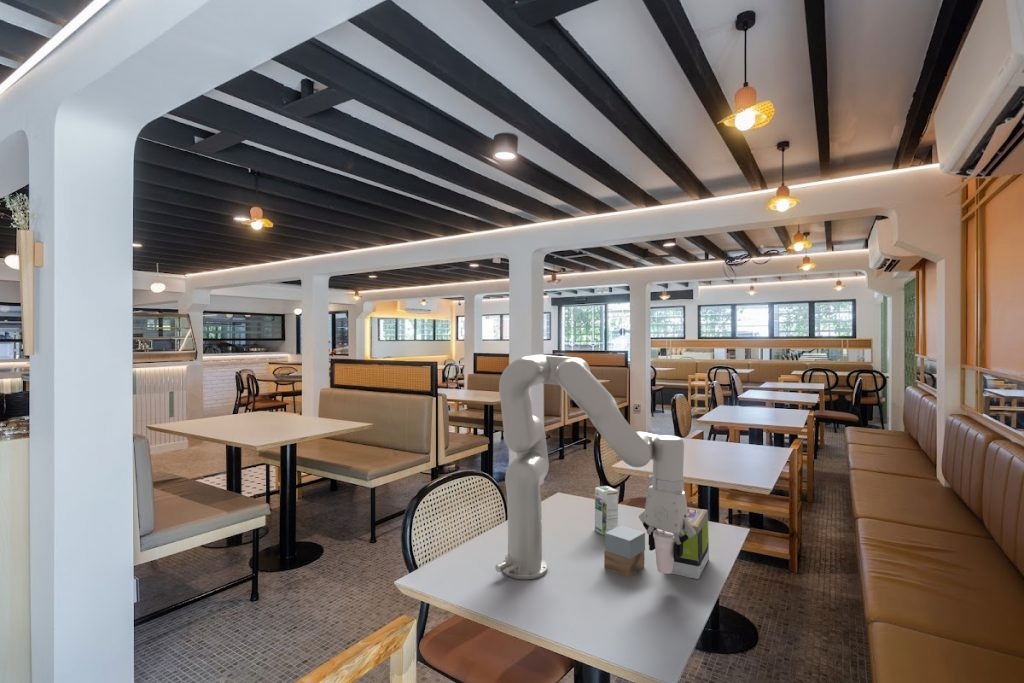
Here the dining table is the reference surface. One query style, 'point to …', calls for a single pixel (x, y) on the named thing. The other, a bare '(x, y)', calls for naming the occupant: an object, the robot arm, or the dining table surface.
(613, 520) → the syrup box
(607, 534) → the tower top
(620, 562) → the tower base
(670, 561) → the smoothie
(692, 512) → the tea box
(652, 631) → the dining table surface
